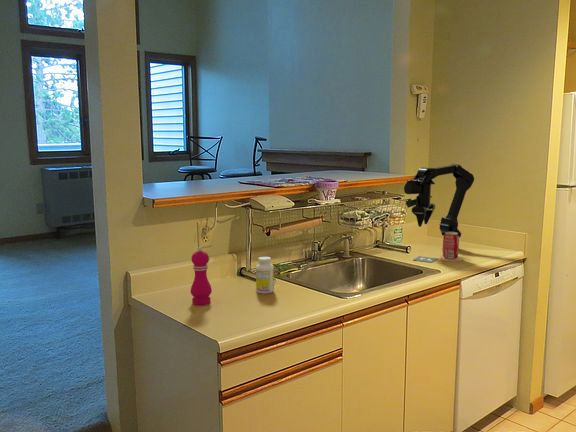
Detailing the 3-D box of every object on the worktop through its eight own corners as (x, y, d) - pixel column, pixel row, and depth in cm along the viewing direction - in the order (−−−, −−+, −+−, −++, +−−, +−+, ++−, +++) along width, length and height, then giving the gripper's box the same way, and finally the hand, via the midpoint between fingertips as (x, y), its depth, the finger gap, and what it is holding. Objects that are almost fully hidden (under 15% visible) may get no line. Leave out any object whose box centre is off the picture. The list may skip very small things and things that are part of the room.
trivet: (443, 255, 261) (443, 255, 261) (465, 258, 256) (465, 257, 256) (437, 260, 253) (437, 259, 253) (459, 262, 247) (459, 261, 247)
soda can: (453, 256, 258) (454, 231, 256) (461, 259, 252) (462, 234, 250) (439, 256, 257) (440, 231, 255) (446, 260, 250) (447, 234, 248)
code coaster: (419, 256, 260) (419, 256, 260) (437, 258, 255) (437, 258, 255) (412, 260, 252) (412, 259, 252) (431, 262, 247) (431, 262, 247)
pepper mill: (193, 299, 195) (191, 244, 191) (213, 299, 194) (212, 244, 191) (189, 306, 187) (187, 249, 184) (210, 306, 187) (208, 249, 184)
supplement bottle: (265, 287, 209) (265, 255, 207) (277, 291, 204) (277, 257, 202) (252, 291, 204) (252, 257, 202) (264, 295, 200) (264, 260, 198)
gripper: (414, 191, 277) (412, 221, 279) (401, 194, 261) (400, 226, 264) (436, 192, 271) (434, 223, 274) (424, 195, 256) (423, 228, 258)
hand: (422, 225), depth 267 cm, fingers open, 9 cm apart
